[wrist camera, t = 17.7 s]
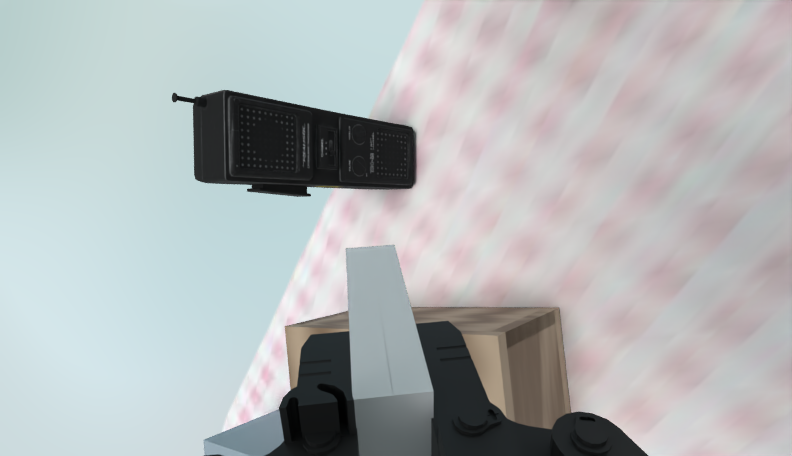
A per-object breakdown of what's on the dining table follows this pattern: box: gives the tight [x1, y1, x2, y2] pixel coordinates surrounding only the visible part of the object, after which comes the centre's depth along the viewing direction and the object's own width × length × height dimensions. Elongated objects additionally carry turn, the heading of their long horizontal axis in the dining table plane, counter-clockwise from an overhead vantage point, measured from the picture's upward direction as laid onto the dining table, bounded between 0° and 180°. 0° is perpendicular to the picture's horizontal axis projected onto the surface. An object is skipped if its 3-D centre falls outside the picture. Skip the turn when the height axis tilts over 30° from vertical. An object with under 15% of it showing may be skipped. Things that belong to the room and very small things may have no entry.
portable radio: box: [172, 90, 413, 197], centre depth 45 cm, size 8×6×25 cm
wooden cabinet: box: [285, 307, 571, 429], centre depth 46 cm, size 24×14×12 cm, turn 97°
